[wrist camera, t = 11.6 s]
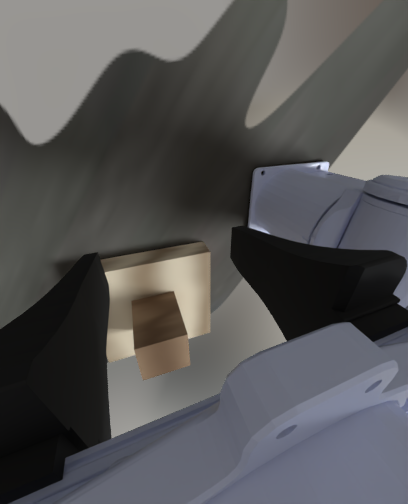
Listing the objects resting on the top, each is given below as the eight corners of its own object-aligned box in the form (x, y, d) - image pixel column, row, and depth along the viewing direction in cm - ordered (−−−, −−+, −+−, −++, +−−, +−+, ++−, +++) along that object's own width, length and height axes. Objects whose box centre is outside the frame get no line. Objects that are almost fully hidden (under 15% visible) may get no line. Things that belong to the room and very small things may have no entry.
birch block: (201, 239, 25) (210, 251, 22) (203, 316, 32) (210, 332, 29) (78, 260, 21) (72, 278, 19) (110, 341, 28) (109, 362, 26)
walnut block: (173, 291, 23) (187, 334, 18) (177, 319, 26) (190, 365, 21) (131, 300, 22) (134, 349, 17) (138, 329, 24) (143, 380, 20)
